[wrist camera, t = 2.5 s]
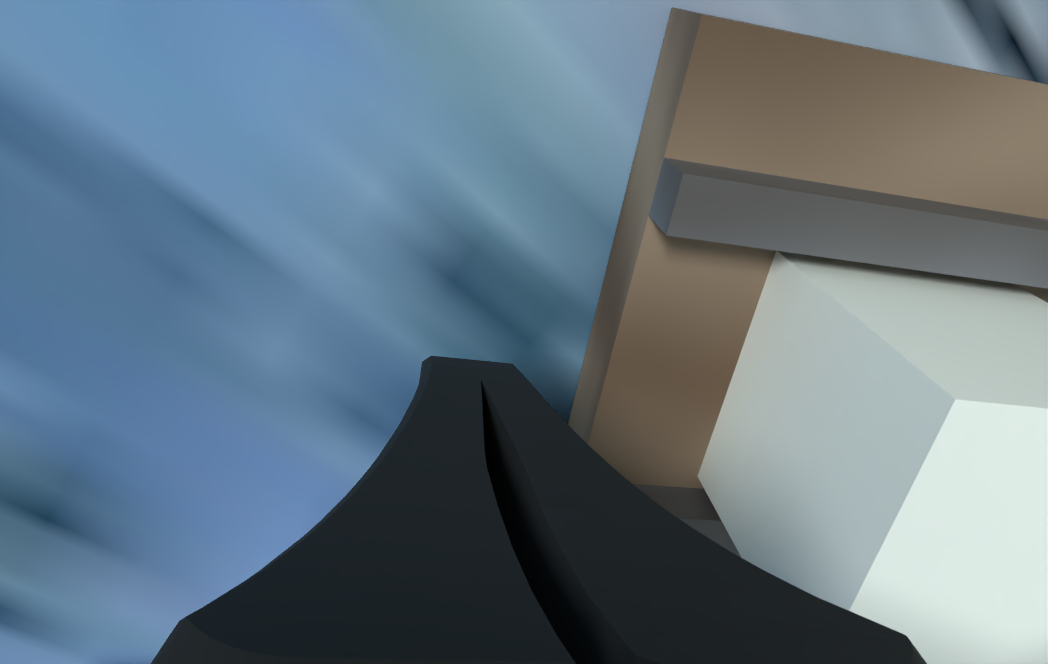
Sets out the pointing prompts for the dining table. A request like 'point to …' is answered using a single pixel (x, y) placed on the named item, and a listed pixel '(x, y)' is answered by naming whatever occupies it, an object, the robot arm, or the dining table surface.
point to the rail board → (789, 217)
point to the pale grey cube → (895, 452)
